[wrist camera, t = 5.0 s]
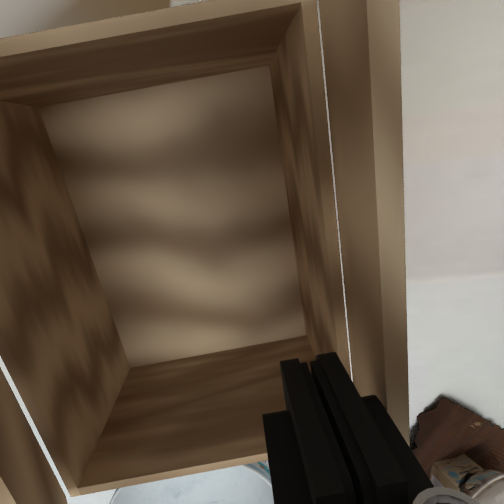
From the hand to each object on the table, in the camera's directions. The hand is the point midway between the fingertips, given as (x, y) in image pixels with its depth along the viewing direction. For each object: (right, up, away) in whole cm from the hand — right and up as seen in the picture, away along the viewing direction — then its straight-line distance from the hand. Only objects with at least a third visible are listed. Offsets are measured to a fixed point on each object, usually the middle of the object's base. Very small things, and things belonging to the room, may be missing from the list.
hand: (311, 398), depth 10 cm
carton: (-7, +6, +18) cm, 20 cm away
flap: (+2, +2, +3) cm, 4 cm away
